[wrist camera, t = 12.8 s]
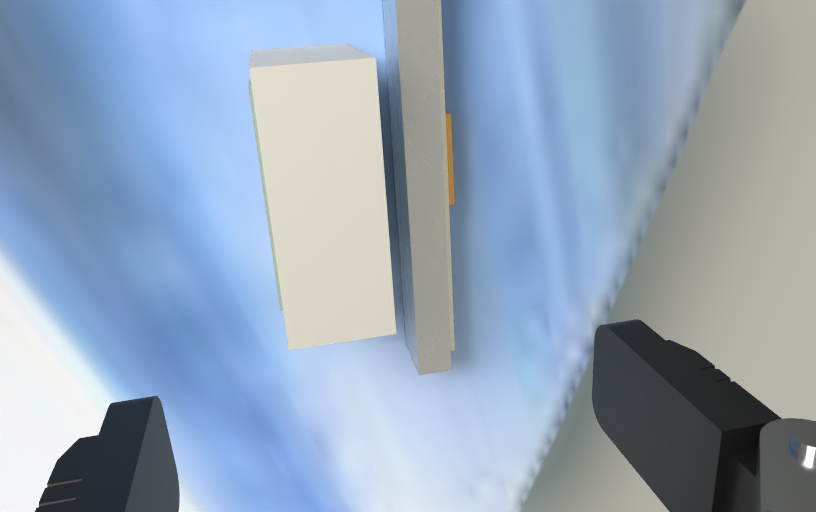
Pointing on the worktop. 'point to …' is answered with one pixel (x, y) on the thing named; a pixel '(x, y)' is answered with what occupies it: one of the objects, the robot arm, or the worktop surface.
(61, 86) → the worktop surface
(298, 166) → the product carton
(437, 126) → the rail
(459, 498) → the worktop surface
